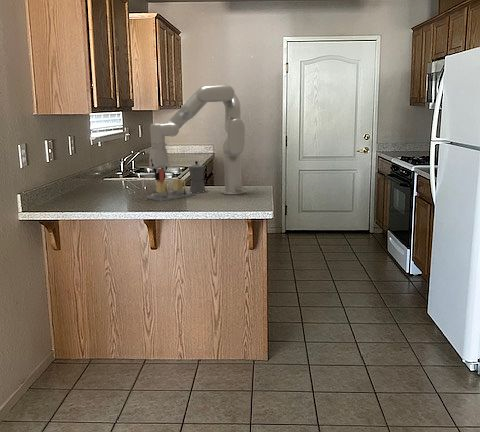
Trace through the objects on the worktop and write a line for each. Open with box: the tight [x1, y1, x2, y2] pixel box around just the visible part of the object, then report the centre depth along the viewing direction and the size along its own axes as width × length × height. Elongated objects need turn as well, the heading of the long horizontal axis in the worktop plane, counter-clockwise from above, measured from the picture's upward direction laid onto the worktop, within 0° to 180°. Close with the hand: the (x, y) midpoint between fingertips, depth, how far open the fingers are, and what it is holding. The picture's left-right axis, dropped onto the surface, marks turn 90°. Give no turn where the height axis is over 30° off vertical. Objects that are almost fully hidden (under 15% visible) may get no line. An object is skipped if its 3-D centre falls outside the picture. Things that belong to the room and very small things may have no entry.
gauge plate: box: [145, 178, 197, 202], centre depth 305 cm, size 14×24×9 cm, turn 135°
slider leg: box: [155, 168, 169, 195], centre depth 300 cm, size 8×4×14 cm, turn 45°
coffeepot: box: [188, 161, 206, 194], centre depth 321 cm, size 15×9×18 cm, turn 176°
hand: (160, 179), depth 302 cm, fingers closed on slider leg, 3 cm apart
